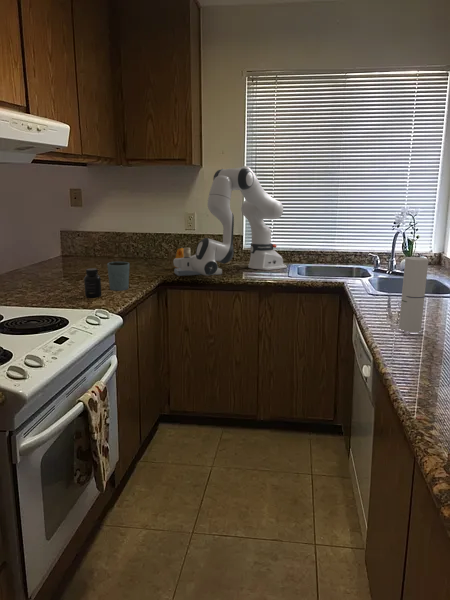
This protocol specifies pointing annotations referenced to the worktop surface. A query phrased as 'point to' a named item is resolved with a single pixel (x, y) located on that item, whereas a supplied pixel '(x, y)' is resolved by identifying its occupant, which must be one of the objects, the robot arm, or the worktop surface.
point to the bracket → (180, 253)
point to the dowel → (186, 252)
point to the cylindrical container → (413, 294)
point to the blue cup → (118, 275)
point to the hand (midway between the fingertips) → (187, 259)
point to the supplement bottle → (92, 283)
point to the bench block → (184, 272)
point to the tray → (218, 271)
